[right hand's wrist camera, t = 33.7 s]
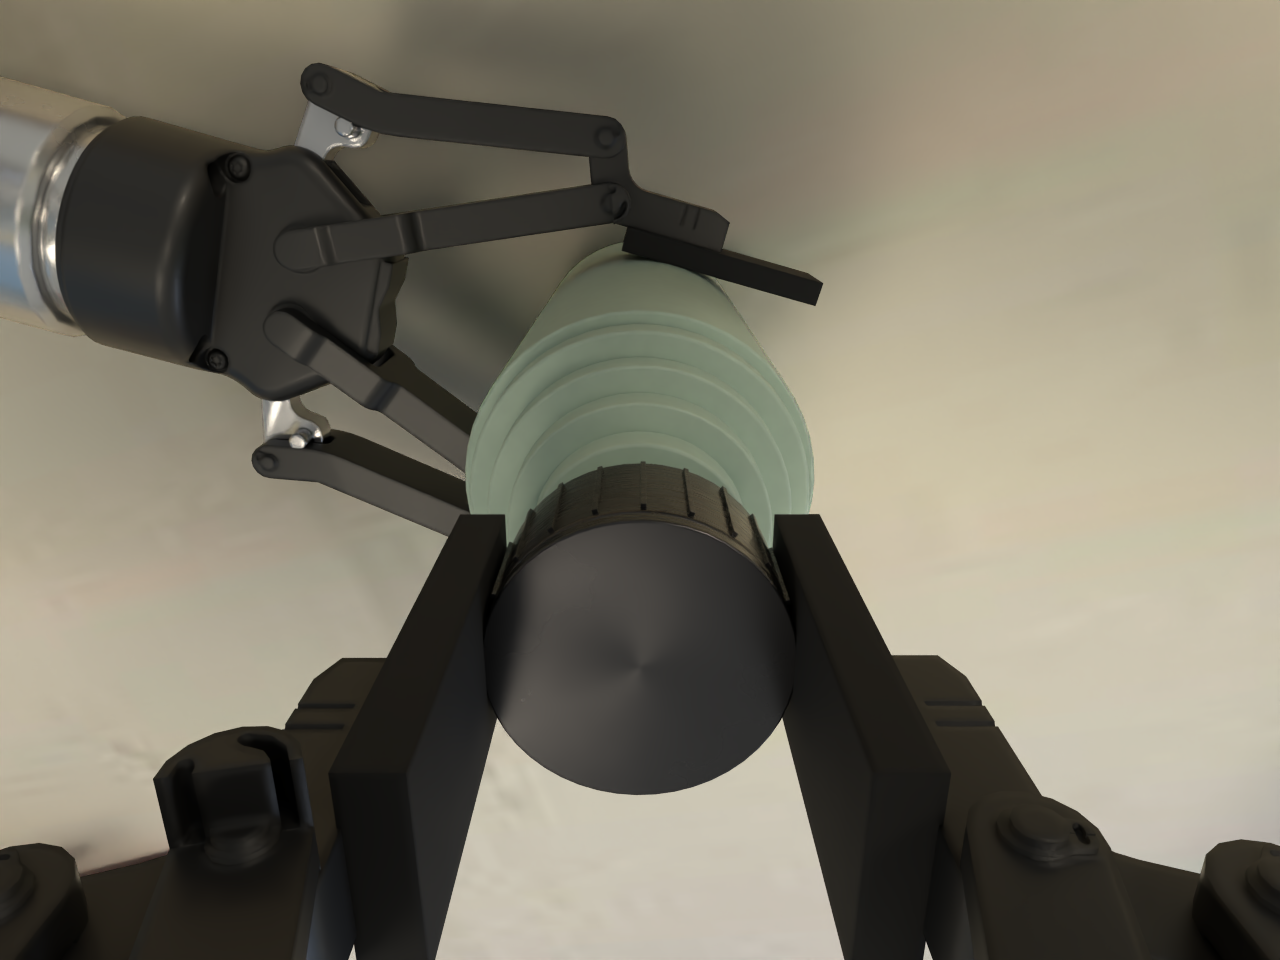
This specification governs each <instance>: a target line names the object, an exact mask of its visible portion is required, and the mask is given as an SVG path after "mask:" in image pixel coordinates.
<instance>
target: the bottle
mask: <svg viewBox="0 0 1280 960" xmlns="http://www.w3.org/2000/svg"><path fill="white" fill-rule="evenodd" d="M622 246H623V242H622V243H618V244H613V245H610V246H607V247H605V248H602V249H600V250H598V251H596V252H594V253H592V254H591V255H589V256H587V257H586V258H585V259H583V260H582V261H581V262H579V263H578V264H577V265H576V266H575V267H574V268H573V269H572V270H571V271H570V272H569V273H568V274H567V275H566V277H565V278H564V279H563V280H562V282H561V283H560V285H559V286H558V288H557V289H556V291H555V292H554V294H553V295H552V297H551V298H550V300H549V301H548V303H547V304H546V306H545V307H544V309H543V310H542V312H541V313H540V315H539V316H538V318H537V319H536V321H535V322H534V324H533V325H532V327H531V328H530V330H529V331H528V333H527V334H526V336H525V337H524V339H523V340H522V342H521V343H520V345H519V346H518V348H517V349H516V351H515V352H514V354H513V355H512V357H511V358H510V360H509V361H508V363H507V364H506V366H505V367H504V369H503V370H502V372H501V373H500V375H499V376H498V378H497V379H496V381H495V382H494V384H493V385H492V387H491V389H490V390H489V392H488V394H487V396H486V397H485V399H484V401H483V403H482V404H481V406H480V409H479V411H478V414H477V416H476V419H475V421H474V424H473V427H472V431H471V435H470V439H469V443H468V447H467V456H466V466H465V476H466V493H467V498H468V504H469V510H470V513H471V514H505V522H506V540H507V546H508V544H509V542H512V543H513V541H514V539H515V537H516V535H517V533H518V531H519V529H520V527H521V526H522V524H523V523H524V521H525V519H526V516H527V512H528V511H529V510H530V508H531V509H532V510H534V509H535V507H536V506H537V505H538V504H539V503H540V502H541V501H542V500H543V499H544V498H546V497H547V496H548V495H549V494H551V493H552V492H553V491H554V490H556V489H557V488H558V485H559V484H560V483H562V482H563V484H565V483H567V482H569V481H570V480H572V479H574V478H576V477H579V476H581V475H583V474H586V473H588V472H591V471H594V470H597V467H600V466H602V467H603V468H604V467H609V466H615V465H621V464H637V463H641V461H646V464H658V465H665V466H670V467H674V468H679V469H682V470H683V469H684V468H686V469H689V472H691V473H694V474H697V475H699V476H701V477H703V478H705V479H707V480H709V481H711V482H713V483H714V484H716V485H717V486H719V487H720V488H721V487H722V486H724V487H725V488H726V489H727V492H728V493H729V494H730V495H731V496H732V497H733V498H735V499H736V500H737V501H738V502H739V503H740V504H741V505H742V506H743V507H744V508H745V509H746V511H747V512H748V513H749V514H750V515H751V514H754V515H755V517H756V520H757V523H758V526H759V529H760V530H761V532H762V534H763V537H764V539H765V541H766V543H767V545H768V548H771V547H773V530H774V514H809V510H810V506H811V502H812V495H813V486H814V458H813V452H812V446H811V441H810V436H809V433H808V430H807V426H806V423H805V420H804V417H803V415H802V413H801V410H800V408H799V406H798V404H797V402H796V400H795V398H794V396H793V394H792V393H791V391H790V390H789V388H788V387H787V385H786V384H785V382H784V381H783V379H782V378H781V376H780V375H779V373H778V372H777V370H776V369H775V367H774V366H773V364H772V363H771V361H770V360H769V358H768V357H767V355H766V354H765V352H764V351H763V349H762V347H761V346H760V344H759V343H758V341H757V340H756V338H755V337H754V335H753V334H752V332H751V331H750V329H749V328H748V326H747V325H746V323H745V322H744V320H743V319H742V317H741V316H740V314H739V313H738V311H737V310H736V308H735V307H734V305H733V304H732V302H731V301H730V299H729V298H728V296H727V294H726V293H725V291H724V290H723V288H722V287H721V285H720V284H719V282H718V281H717V279H716V278H715V277H712V276H708V275H705V274H701V273H698V272H694V271H691V270H687V269H683V268H680V267H676V266H673V265H670V264H666V263H662V262H659V261H655V260H652V259H648V258H645V257H641V256H638V255H634V254H631V253H627V252H624V251H622Z"/></svg>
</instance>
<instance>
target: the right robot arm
mask: <svg viewBox="0 0 1280 960" xmlns="http://www.w3.org/2000/svg"><path fill="white" fill-rule="evenodd" d="M506 549H507V540H506V522H505V514H460V515H459V517H458V519H457V521H456V523H455V525H454V527H453V529H452V531H451V533H450V535H449V537H448V539H447V541H446V543H445V545H444V547H443V549H442V551H441V553H440V555H439V557H438V559H437V560H436V562H435V564H434V566H433V568H432V570H431V572H430V574H429V576H428V578H427V580H426V582H425V584H424V586H423V588H422V590H421V592H420V594H419V596H418V598H417V600H416V602H415V604H414V606H413V607H412V609H411V611H410V613H409V615H408V617H407V619H406V621H405V623H404V625H403V627H402V629H401V631H400V633H399V635H398V637H397V639H396V641H395V643H394V645H393V647H392V649H391V651H390V653H389V654H388V656H387V658H342V659H340V660H339V661H337V662H336V663H335V664H333V665H332V666H331V667H329V668H328V669H327V670H325V671H324V672H323V673H321V674H320V675H319V676H317V677H316V678H315V679H314V680H313V681H312V683H311V684H310V686H309V687H308V689H307V691H306V692H305V694H304V695H303V697H302V699H301V700H300V702H299V703H298V709H295V710H294V711H293V713H292V714H291V716H290V718H289V719H288V721H287V722H286V724H285V729H282V730H280V729H276V728H273V727H269V726H256V727H239V728H235V729H231V730H227V731H222V732H218V733H214V734H212V735H210V736H207V737H205V738H203V739H201V740H198V741H196V742H194V743H192V744H189V745H188V746H186V747H185V748H183V749H182V750H181V751H179V752H178V753H177V754H175V755H174V756H172V757H171V758H170V759H168V760H167V761H166V762H165V763H164V765H163V766H162V768H161V769H160V770H159V772H158V773H157V774H156V776H155V777H154V778H153V781H154V785H155V789H156V793H157V798H158V802H159V806H160V810H161V814H162V819H163V823H164V827H165V831H166V835H167V839H168V844H169V848H170V849H169V852H168V855H166V856H163V857H160V858H157V859H153V860H150V861H147V862H144V863H140V864H136V865H131V866H127V867H123V868H118V869H114V870H110V871H105V872H101V873H97V874H93V875H88V876H84V877H80V876H79V873H78V869H77V866H76V862H75V859H74V858H73V857H72V856H71V855H70V854H69V853H68V852H67V851H66V850H64V849H63V848H62V847H59V846H53V845H47V844H42V843H36V844H28V845H20V846H12V847H8V848H5V849H2V850H0V960H348V959H349V956H350V953H351V951H352V948H353V945H354V947H355V953H356V960H435V958H436V954H437V950H438V946H439V942H440V938H441V934H442V930H443V926H444V923H445V919H446V915H447V911H448V907H449V903H450V899H451V895H452V891H453V887H454V884H455V880H456V876H457V872H458V868H459V864H460V860H461V856H462V852H463V848H464V845H465V841H466V837H467V833H468V829H469V825H470V821H471V817H472V813H473V810H474V806H475V802H476V798H477V794H478V790H479V786H480V782H481V778H482V774H483V771H484V767H485V763H486V759H487V755H488V751H489V747H490V743H491V739H492V735H493V732H494V728H495V724H496V720H497V716H496V715H495V713H494V710H493V708H492V706H491V704H490V701H489V699H488V696H487V689H486V676H485V662H484V648H483V632H484V627H485V624H486V621H487V618H488V615H489V612H490V609H491V606H492V603H493V600H494V599H492V598H490V595H491V593H492V590H493V587H494V584H495V581H496V578H497V575H498V572H499V569H500V567H501V564H502V561H503V558H504V555H505V552H506ZM772 549H773V551H774V554H775V557H776V560H777V563H778V566H779V569H780V572H781V575H782V578H783V581H784V583H785V586H786V589H787V592H788V595H789V598H790V601H791V605H788V608H789V611H790V614H791V617H792V621H793V624H794V628H795V631H796V655H795V669H794V683H793V693H792V696H791V699H790V702H789V705H788V707H787V709H786V711H785V712H784V714H783V716H782V718H783V722H784V726H785V730H786V734H787V738H788V741H789V745H790V749H791V753H792V757H793V761H794V765H795V769H796V773H797V777H798V780H799V784H800V788H801V792H802V796H803V800H804V804H805V808H806V812H807V815H808V819H809V823H810V827H811V831H812V835H813V839H814V843H815V847H816V851H817V854H818V858H819V862H820V866H821V870H822V874H823V878H824V882H825V886H826V890H827V893H828V897H829V901H830V905H831V909H832V913H833V917H834V921H835V925H836V929H837V932H838V936H839V940H840V944H841V948H842V952H843V956H844V960H923V956H924V950H925V943H926V942H927V945H928V948H929V951H930V953H931V956H932V959H933V960H1280V846H1278V845H1275V844H1272V843H1266V842H1258V841H1250V840H1242V839H1240V840H1235V841H1229V842H1224V843H1219V844H1217V845H1216V846H1215V847H1214V848H1213V849H1212V850H1211V851H1210V852H1208V853H1207V854H1206V856H1205V860H1204V863H1203V867H1202V870H1201V874H1198V873H1194V872H1190V871H1185V870H1181V869H1177V868H1172V867H1168V866H1164V865H1159V864H1155V863H1151V862H1146V861H1142V860H1138V859H1135V858H1131V857H1128V856H1125V855H1121V854H1118V853H1115V852H1113V851H1111V848H1110V846H1109V845H1108V843H1107V842H1106V840H1105V839H1104V837H1103V835H1102V834H1101V832H1100V831H1099V829H1098V828H1097V827H1096V826H1094V825H1093V824H1092V823H1091V822H1090V821H1088V820H1087V819H1086V818H1085V817H1084V816H1082V815H1081V814H1080V813H1079V812H1078V811H1076V810H1074V809H1072V808H1070V807H1068V806H1066V805H1064V804H1062V803H1060V802H1058V801H1056V800H1054V799H1051V798H1047V797H1044V796H1042V795H1041V794H1040V792H1039V790H1038V789H1037V787H1036V786H1035V784H1034V783H1033V781H1032V779H1031V778H1030V776H1029V775H1028V773H1027V772H1026V770H1025V768H1024V767H1023V765H1022V764H1021V762H1020V761H1019V759H1018V757H1017V756H1016V754H1015V753H1014V751H1013V750H1012V748H1011V746H1010V745H1009V743H1008V742H1007V740H1006V739H1005V737H1004V735H1003V734H1002V732H1001V731H1000V729H999V727H995V721H994V720H993V718H992V716H991V715H990V713H989V712H988V710H987V709H986V707H985V706H982V701H981V699H980V698H979V696H978V694H977V693H976V691H975V690H974V688H973V687H972V685H971V683H970V682H969V680H968V679H967V677H966V676H965V675H963V674H962V673H961V672H959V671H958V670H957V669H955V668H954V667H953V666H951V665H950V664H949V663H947V662H946V661H945V660H943V659H942V658H940V657H939V656H938V655H891V654H890V652H889V650H888V648H887V646H886V644H885V642H884V640H883V638H882V636H881V634H880V632H879V630H878V628H877V626H876V624H875V622H874V620H873V618H872V616H871V614H870V613H869V611H868V609H867V607H866V605H865V603H864V601H863V599H862V597H861V595H860V593H859V591H858V589H857V587H856V585H855V583H854V581H853V579H852V577H851V575H850V573H849V571H848V569H847V567H846V566H845V564H844V562H843V560H842V558H841V556H840V554H839V552H838V550H837V548H836V546H835V544H834V542H833V540H832V538H831V536H830V534H829V532H828V530H827V528H826V526H825V524H824V522H823V520H822V518H821V517H820V515H819V514H774V530H773V547H772Z"/></svg>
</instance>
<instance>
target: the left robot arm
mask: <svg viewBox="0 0 1280 960" xmlns="http://www.w3.org/2000/svg"><path fill="white" fill-rule="evenodd" d="M300 84H301V88H302V92H303V94H304V95H305V97H306V98H307V100H309V101H308V104H307V107H306V110H305V113H304V116H303V119H302V122H301V126H300V129H299V132H298V135H297V138H296V141H295V144H294V146H284V147H280V148H277V149H273V150H267V151H265V150H260V149H256V148H252V147H248V146H245V145H241V144H238V143H234V142H231V141H227V140H224V139H220V138H217V137H213V136H210V135H206V134H203V133H199V132H196V131H192V130H189V129H185V128H182V127H178V126H175V125H171V124H168V123H164V122H161V121H157V120H154V119H150V118H146V117H141V116H136V117H129V118H126V117H125V116H123V115H122V114H120V113H119V112H117V111H116V110H114V109H113V108H112V107H108V106H105V105H101V104H98V103H94V102H90V101H87V100H83V99H80V98H76V97H73V96H69V95H65V94H62V93H58V92H55V91H51V90H48V89H44V88H41V87H37V86H33V85H30V84H26V83H23V82H19V81H16V80H12V79H8V78H5V77H1V76H0V318H2V319H6V320H10V321H13V322H17V323H21V324H25V325H28V326H32V327H36V328H39V329H43V330H47V331H50V332H54V333H58V334H62V335H67V336H71V337H77V336H84V335H87V336H88V337H89V338H91V339H92V340H93V341H95V342H97V343H99V344H102V345H105V346H109V347H113V348H117V349H121V350H125V351H128V352H132V353H136V354H140V355H144V356H148V357H152V358H155V359H159V360H163V361H167V362H171V363H175V364H179V365H182V366H186V367H190V368H194V369H198V370H203V371H208V372H213V373H218V374H222V375H225V376H228V377H230V378H232V379H234V380H235V381H237V382H238V383H240V384H241V385H243V386H244V387H245V388H246V389H247V390H248V391H250V392H251V393H252V394H253V395H255V396H257V397H259V398H261V402H262V418H263V434H264V443H263V444H262V445H261V446H260V447H258V448H257V449H256V450H255V451H254V453H253V454H252V460H251V461H252V464H253V467H254V469H255V470H256V471H257V472H258V473H259V474H260V475H262V476H264V477H268V478H274V479H286V480H298V481H309V482H319V483H321V484H323V485H326V486H328V487H331V488H333V489H335V490H338V491H340V492H343V493H345V494H347V495H350V496H352V497H355V498H357V499H359V500H362V501H364V502H367V503H369V504H371V505H374V506H376V507H379V508H381V509H383V510H386V511H388V512H391V513H393V514H395V515H398V516H400V517H403V518H405V519H407V520H410V521H412V522H415V523H417V524H419V525H422V526H424V527H427V528H429V529H431V530H434V531H436V532H439V533H441V534H443V535H446V536H448V537H449V535H450V533H451V531H452V529H453V527H454V525H455V523H456V521H457V519H458V517H459V515H460V514H471V513H470V510H469V504H468V498H467V493H466V482H465V481H463V480H461V479H458V478H456V477H454V476H451V475H449V474H447V473H444V472H442V471H440V470H437V469H435V468H433V467H430V466H428V465H426V464H423V463H421V462H419V461H416V460H414V459H412V458H409V457H407V456H405V455H402V454H400V453H398V452H395V451H393V450H391V449H388V448H386V447H384V446H381V445H379V444H377V443H374V442H372V441H370V440H367V439H365V438H363V437H360V436H357V435H354V434H352V433H348V432H344V431H340V430H334V429H330V425H329V422H328V420H327V419H326V418H325V417H324V416H321V415H320V414H317V413H314V412H311V411H309V410H308V409H306V408H305V406H304V405H303V404H302V402H301V400H300V395H302V394H305V393H307V392H310V391H313V390H315V389H318V388H320V387H323V386H326V385H328V384H333V385H334V386H335V387H337V388H338V389H339V390H341V391H342V392H344V393H345V394H346V395H348V396H349V397H351V398H352V399H353V400H355V401H356V402H358V403H359V404H360V405H362V406H364V407H365V408H368V409H370V410H376V411H379V412H381V413H383V414H384V415H386V416H387V417H388V418H390V419H391V420H392V421H394V422H395V423H397V424H398V425H399V426H401V427H402V428H404V429H405V430H406V431H408V432H409V433H410V434H412V435H413V436H415V437H416V438H417V439H419V440H420V441H422V442H423V443H424V444H426V445H427V446H429V447H430V448H431V449H433V450H434V451H435V452H437V453H438V454H440V455H441V456H442V457H444V458H445V459H447V460H448V461H449V462H451V463H452V464H453V465H455V466H456V467H458V468H459V469H460V470H462V471H463V472H465V466H466V456H467V447H468V443H469V439H470V435H471V431H472V427H473V424H474V421H475V419H476V416H477V413H476V412H475V411H473V410H472V409H471V408H469V407H468V406H467V405H465V404H464V403H463V402H461V401H460V400H458V399H457V398H456V397H454V396H453V395H452V394H450V393H449V392H448V391H446V390H445V389H444V388H442V387H441V386H440V385H438V384H437V383H436V382H434V381H433V380H432V379H430V378H429V377H427V376H426V375H425V374H423V373H422V372H421V371H419V370H418V369H417V368H416V366H415V364H414V362H413V361H412V360H411V359H410V358H409V357H408V356H407V355H405V354H404V353H403V352H401V351H400V350H399V349H397V348H396V347H395V346H393V345H392V344H393V342H394V337H395V331H396V326H397V318H396V307H395V299H396V297H397V295H398V292H399V290H400V288H401V286H402V284H403V282H404V280H405V276H406V270H407V264H408V259H409V258H407V257H404V254H410V253H416V252H420V251H426V250H432V249H439V248H446V247H453V246H459V245H466V244H473V243H480V242H487V241H493V240H500V239H507V238H514V237H521V236H527V235H534V234H541V233H548V232H555V231H562V230H568V229H575V228H582V227H589V226H596V225H602V224H609V223H614V224H619V225H622V226H626V227H627V230H626V234H625V238H624V242H623V246H622V251H624V252H627V253H631V254H634V255H638V256H641V257H645V258H648V259H652V260H655V261H659V262H662V263H666V264H670V265H673V266H676V267H680V268H683V269H687V270H691V271H694V272H698V273H701V274H705V275H708V276H712V277H715V278H719V279H722V280H726V281H729V282H733V283H736V284H740V285H743V286H747V287H750V288H754V289H757V290H761V291H764V292H768V293H771V294H775V295H778V296H782V297H785V298H789V299H792V300H796V301H799V302H803V303H806V304H810V305H813V306H816V303H817V300H818V297H819V294H820V291H821V288H822V285H823V283H822V282H820V281H819V280H817V279H816V278H814V277H813V276H811V275H810V274H808V273H805V272H802V271H798V270H795V269H791V268H788V267H784V266H781V265H777V264H774V263H771V262H767V261H764V260H760V259H757V258H753V257H750V256H746V255H743V254H739V253H736V252H732V251H729V250H725V249H722V247H723V244H724V240H725V237H726V234H727V230H728V227H729V224H730V223H729V222H728V221H727V220H726V219H725V218H723V217H722V216H721V215H720V214H718V213H717V212H716V211H714V210H712V209H708V208H705V207H701V206H698V205H695V204H691V203H688V202H684V201H681V200H678V199H674V198H671V197H667V196H664V195H660V194H657V193H654V192H650V191H647V190H644V189H642V188H640V187H639V186H638V185H637V184H636V183H635V182H634V181H633V179H632V177H631V175H630V171H629V163H628V151H627V138H626V133H625V131H624V129H623V127H622V125H621V124H620V123H619V122H618V121H617V120H616V119H614V118H611V117H608V116H600V115H590V114H581V113H572V112H563V111H554V110H544V109H535V108H526V107H517V106H508V105H498V104H489V103H480V102H471V101H462V100H452V99H443V98H434V97H425V96H416V95H406V94H397V93H391V92H389V91H387V90H385V89H383V88H381V87H379V86H377V85H375V84H373V83H371V82H369V81H367V80H365V79H363V78H361V77H359V76H357V75H355V74H353V73H351V72H348V71H345V70H341V69H338V68H335V67H332V66H329V65H325V64H322V63H315V64H311V65H309V66H308V67H307V68H305V70H304V71H303V73H302V75H301V83H300ZM379 133H381V134H386V135H392V136H399V137H408V138H417V139H426V140H435V141H445V142H454V143H463V144H473V145H482V146H491V147H501V148H510V149H519V150H529V151H538V152H548V153H557V154H566V155H576V156H585V157H589V163H590V174H591V184H590V185H583V186H576V187H570V188H563V189H556V190H550V191H543V192H536V193H530V194H523V195H516V196H509V197H503V198H496V199H489V200H483V201H476V202H469V203H463V204H456V205H449V206H443V207H436V208H428V209H421V210H414V211H408V212H401V213H394V214H388V215H380V213H379V212H378V211H377V210H376V209H375V208H374V206H373V205H372V204H371V203H370V202H369V201H368V199H367V198H366V197H365V196H364V195H363V194H362V193H361V191H360V190H359V189H358V188H357V187H356V186H355V184H354V183H353V182H352V181H351V180H350V179H349V178H348V176H347V175H346V174H345V173H344V172H343V171H342V169H341V168H340V167H339V166H338V165H337V164H336V162H335V161H334V160H333V159H334V157H335V155H336V153H337V152H338V151H339V150H341V149H343V148H345V147H349V148H359V149H363V148H368V147H370V146H372V145H373V144H374V143H375V142H376V140H377V138H378V135H379Z"/></svg>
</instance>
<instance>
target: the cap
mask: <svg viewBox="0 0 1280 960" xmlns="http://www.w3.org/2000/svg"><path fill="white" fill-rule="evenodd" d="M490 598H492V599H494V600H493V603H492V606H491V609H490V612H489V615H488V618H487V621H486V624H485V627H484V632H483V648H484V662H485V676H486V689H487V696H488V699H489V701H490V704H491V706H492V708H493V710H494V713H495V715H496V716H497V718H498V720H499V721H500V723H501V725H502V726H503V728H504V729H505V731H506V732H507V733H508V734H509V736H510V737H511V738H512V739H513V741H514V742H515V743H516V744H517V745H518V746H519V747H520V748H521V749H522V750H523V751H524V752H525V753H526V754H527V755H529V756H530V757H531V758H532V759H534V760H535V761H536V762H538V763H539V764H540V765H542V766H543V767H545V768H546V769H548V770H550V771H551V772H553V773H555V774H557V775H559V776H560V777H562V778H565V779H567V780H569V781H572V782H574V783H577V784H579V785H582V786H586V787H589V788H592V789H596V790H600V791H605V792H611V793H616V794H630V795H649V794H661V793H668V792H675V791H679V790H683V789H687V788H691V787H694V786H697V785H700V784H702V783H705V782H708V781H710V780H713V779H714V778H716V777H718V776H720V775H722V774H724V773H726V772H728V771H730V770H731V769H733V768H734V767H736V766H737V765H739V764H740V763H742V762H743V761H745V760H746V759H747V758H748V757H749V756H750V755H752V754H753V753H754V752H755V751H756V750H757V749H758V748H759V747H760V746H761V745H762V744H763V743H764V742H765V741H766V740H767V738H768V737H769V736H770V735H771V734H772V732H773V731H774V729H775V728H776V726H777V725H778V723H779V722H780V720H781V718H782V716H783V714H784V712H785V711H786V709H787V707H788V705H789V702H790V699H791V696H792V693H793V683H794V669H795V655H796V631H795V628H794V624H793V621H792V617H791V614H790V611H789V608H788V605H791V601H790V598H789V595H788V592H787V589H786V586H785V583H784V581H783V578H782V575H781V572H780V569H779V566H778V563H777V560H776V557H775V554H774V551H773V549H772V547H771V548H768V545H767V543H766V541H765V539H764V537H763V534H762V532H761V530H760V529H759V526H758V523H757V520H756V517H755V515H754V514H751V515H750V514H749V513H748V512H747V511H746V509H745V508H744V507H743V506H742V505H741V504H740V503H739V502H738V501H737V500H736V499H735V498H733V497H732V496H731V495H730V494H729V493H728V492H727V489H726V488H725V487H724V486H722V487H721V488H720V487H719V486H717V485H716V484H714V483H713V482H711V481H709V480H707V479H705V478H703V477H701V476H699V475H697V474H694V473H691V472H689V469H686V468H684V469H683V470H682V469H679V468H674V467H670V466H665V465H658V464H646V461H641V463H637V464H621V465H615V466H609V467H604V468H603V467H602V466H600V467H597V470H594V471H591V472H588V473H586V474H583V475H581V476H579V477H576V478H574V479H572V480H570V481H569V482H567V483H565V484H563V482H562V483H560V484H559V485H558V488H557V489H556V490H554V491H553V492H552V493H551V494H549V495H548V496H547V497H546V498H544V499H543V500H542V501H541V502H540V503H539V504H538V505H537V506H536V507H535V509H534V510H532V509H531V508H530V510H529V511H528V512H527V516H526V519H525V521H524V523H523V524H522V526H521V527H520V529H519V531H518V533H517V535H516V537H515V539H514V541H513V543H512V542H509V544H508V546H507V549H506V552H505V555H504V558H503V561H502V564H501V567H500V569H499V572H498V575H497V578H496V581H495V584H494V587H493V590H492V593H491V595H490Z"/></svg>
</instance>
